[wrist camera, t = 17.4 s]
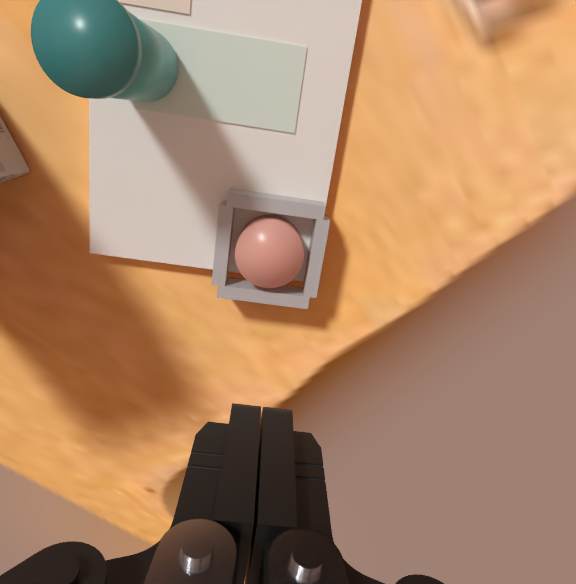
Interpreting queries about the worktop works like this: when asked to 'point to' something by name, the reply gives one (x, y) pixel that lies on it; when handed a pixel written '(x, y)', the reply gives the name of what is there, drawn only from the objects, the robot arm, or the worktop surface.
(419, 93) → the worktop surface
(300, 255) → the button
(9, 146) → the coffee box
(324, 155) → the board
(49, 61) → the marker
